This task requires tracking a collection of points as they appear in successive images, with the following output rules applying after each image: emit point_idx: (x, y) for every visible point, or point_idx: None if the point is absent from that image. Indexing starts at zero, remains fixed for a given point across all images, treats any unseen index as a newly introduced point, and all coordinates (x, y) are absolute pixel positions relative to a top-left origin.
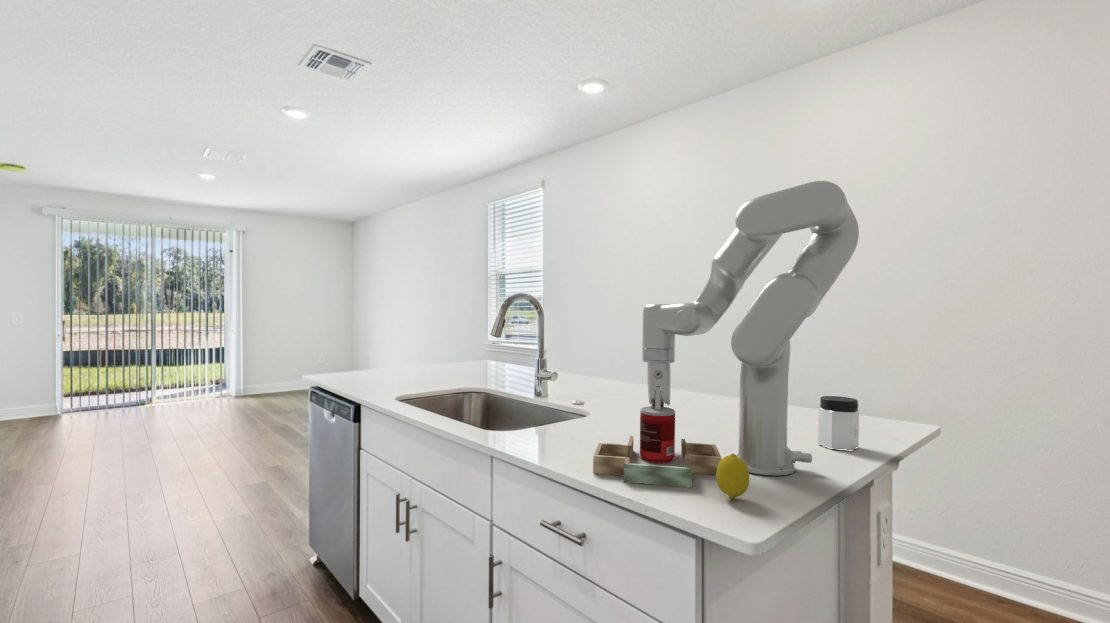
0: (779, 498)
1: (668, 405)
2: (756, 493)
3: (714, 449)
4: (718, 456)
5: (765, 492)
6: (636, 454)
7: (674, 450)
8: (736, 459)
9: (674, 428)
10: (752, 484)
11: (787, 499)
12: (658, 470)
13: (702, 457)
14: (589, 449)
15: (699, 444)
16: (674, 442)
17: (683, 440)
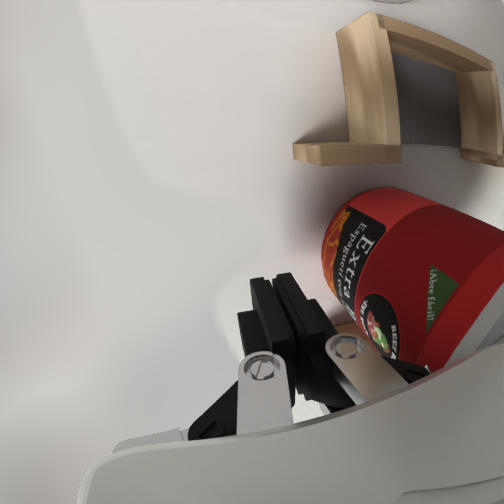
0: (500, 20)
1: (489, 346)
2: (501, 43)
3: (438, 45)
4: (488, 65)
5: (492, 25)
6: (341, 314)
7: (404, 192)
8: None
9: (483, 222)
10: (474, 24)
11: (497, 11)
12: None
13: (499, 115)
14: (313, 411)
15: (394, 82)
16: (433, 201)
17: (353, 154)
